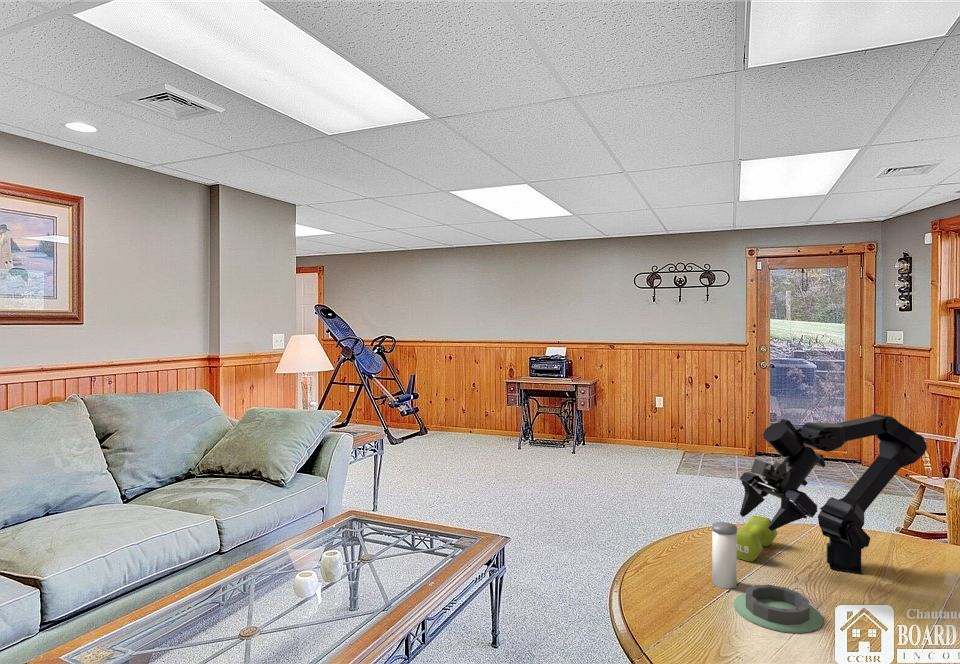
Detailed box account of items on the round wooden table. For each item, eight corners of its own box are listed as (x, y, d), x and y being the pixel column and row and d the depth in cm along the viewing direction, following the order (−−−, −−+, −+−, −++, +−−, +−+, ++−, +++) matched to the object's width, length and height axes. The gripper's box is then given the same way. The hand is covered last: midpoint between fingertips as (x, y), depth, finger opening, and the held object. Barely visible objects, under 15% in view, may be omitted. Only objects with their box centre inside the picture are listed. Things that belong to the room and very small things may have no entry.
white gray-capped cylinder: (737, 581, 133) (737, 524, 133) (736, 590, 128) (736, 531, 128) (713, 576, 135) (713, 520, 135) (710, 586, 131) (710, 528, 130)
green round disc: (819, 602, 123) (819, 589, 122) (825, 641, 108) (825, 625, 108) (736, 587, 130) (736, 574, 130) (731, 621, 115) (731, 607, 115)
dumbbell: (758, 566, 141) (758, 536, 141) (724, 557, 146) (724, 528, 146) (779, 546, 153) (779, 518, 153) (747, 538, 158) (747, 512, 158)
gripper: (745, 438, 143) (706, 488, 141) (805, 456, 125) (762, 514, 123) (773, 467, 145) (736, 517, 143) (836, 488, 127) (794, 546, 125)
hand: (755, 522), depth 133 cm, fingers open, 9 cm apart
